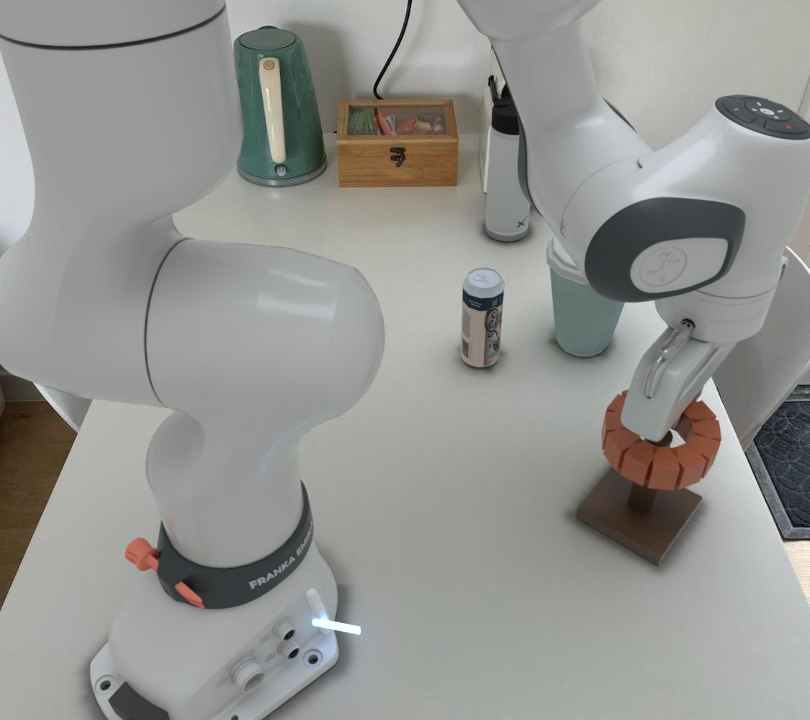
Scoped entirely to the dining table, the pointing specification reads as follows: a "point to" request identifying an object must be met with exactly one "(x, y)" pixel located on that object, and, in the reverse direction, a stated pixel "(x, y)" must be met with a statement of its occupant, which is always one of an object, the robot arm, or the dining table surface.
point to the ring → (662, 448)
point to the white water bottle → (505, 177)
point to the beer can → (481, 317)
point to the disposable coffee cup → (579, 307)
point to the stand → (639, 512)
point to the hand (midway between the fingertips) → (678, 409)
